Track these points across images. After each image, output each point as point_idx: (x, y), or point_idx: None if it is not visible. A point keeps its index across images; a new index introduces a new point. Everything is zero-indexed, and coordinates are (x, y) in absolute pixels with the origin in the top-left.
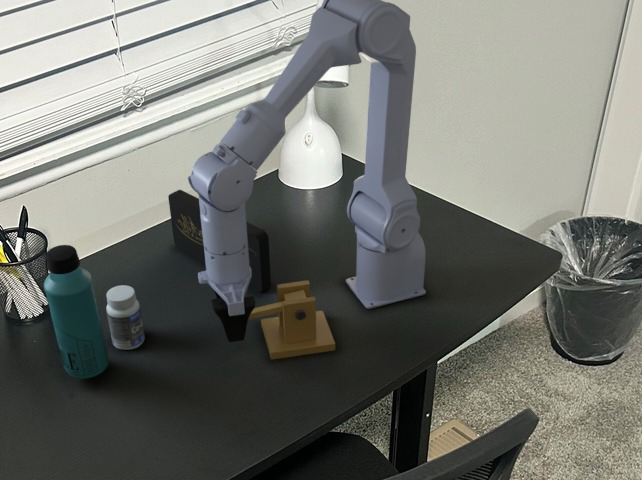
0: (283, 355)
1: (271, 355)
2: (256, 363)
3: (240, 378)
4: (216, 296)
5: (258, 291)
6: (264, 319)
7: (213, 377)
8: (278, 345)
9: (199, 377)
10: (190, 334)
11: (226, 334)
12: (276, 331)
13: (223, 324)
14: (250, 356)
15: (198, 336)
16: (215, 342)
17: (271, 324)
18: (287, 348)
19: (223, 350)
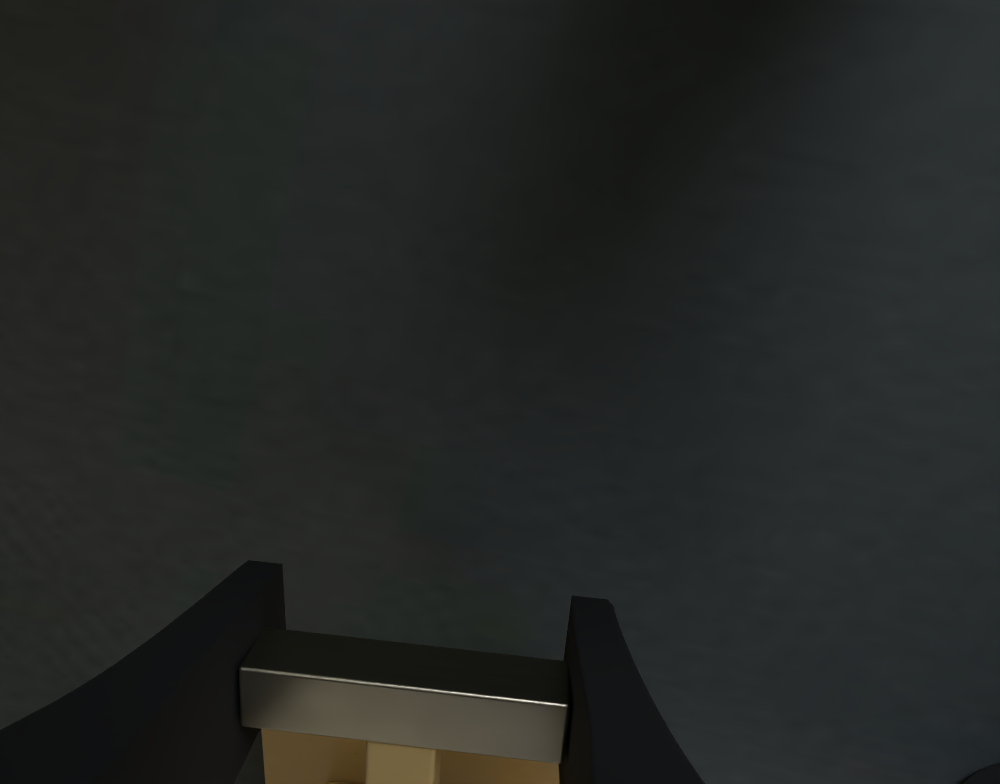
0: None
1: None
2: None
3: (129, 472)
4: (590, 746)
5: (981, 777)
6: None
7: (158, 320)
8: (321, 747)
9: (169, 227)
10: (711, 264)
11: (197, 602)
12: (459, 773)
13: (82, 686)
14: (333, 572)
15: (660, 317)
16: (543, 415)
17: (540, 770)
18: (282, 776)
19: (437, 443)
